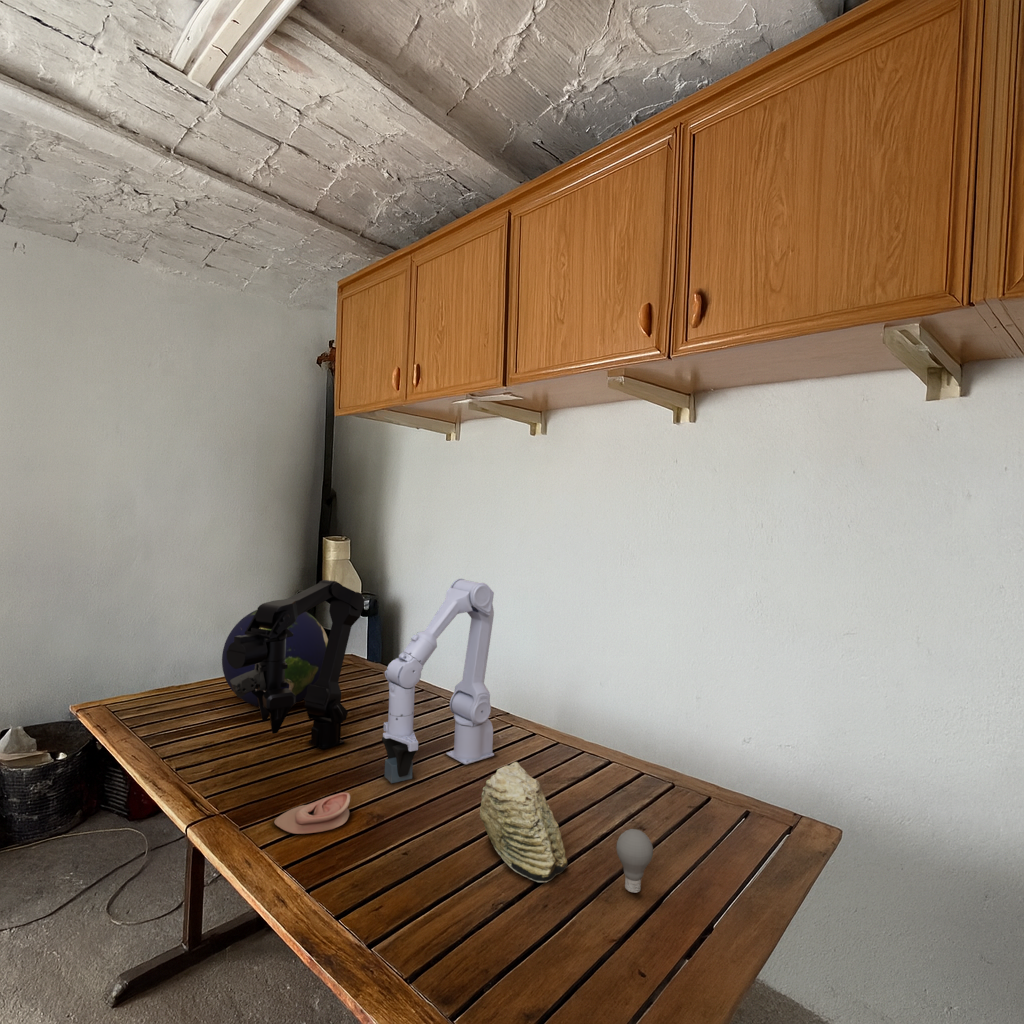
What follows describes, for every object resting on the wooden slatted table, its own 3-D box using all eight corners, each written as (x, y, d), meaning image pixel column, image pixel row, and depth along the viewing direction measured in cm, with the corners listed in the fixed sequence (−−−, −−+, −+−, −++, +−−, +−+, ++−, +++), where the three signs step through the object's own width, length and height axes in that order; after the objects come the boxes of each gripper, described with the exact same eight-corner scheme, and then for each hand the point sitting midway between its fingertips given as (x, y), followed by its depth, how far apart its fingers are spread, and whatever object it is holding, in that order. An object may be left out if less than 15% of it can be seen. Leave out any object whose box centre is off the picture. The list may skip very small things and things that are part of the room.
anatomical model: (265, 808, 120) (298, 782, 131) (265, 829, 120) (297, 801, 131) (330, 818, 117) (357, 791, 128) (329, 840, 117) (357, 810, 128)
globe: (289, 685, 209) (292, 594, 208) (348, 705, 191) (352, 606, 191) (199, 706, 185) (203, 604, 184) (258, 732, 167) (262, 619, 167)
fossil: (501, 827, 124) (504, 751, 124) (575, 868, 111) (578, 784, 111) (467, 843, 118) (470, 763, 118) (541, 889, 105) (545, 799, 105)
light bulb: (610, 879, 108) (613, 822, 108) (644, 879, 109) (647, 822, 109) (619, 902, 102) (622, 840, 102) (655, 901, 103) (658, 840, 103)
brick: (384, 776, 145) (384, 759, 145) (404, 772, 148) (405, 755, 147) (391, 783, 141) (392, 765, 141) (412, 778, 144) (413, 761, 144)
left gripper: (226, 653, 148) (223, 719, 148) (243, 673, 132) (240, 747, 133) (275, 648, 154) (273, 712, 154) (297, 667, 139) (294, 737, 139)
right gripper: (372, 705, 148) (369, 763, 148) (398, 725, 136) (395, 788, 136) (400, 701, 152) (397, 757, 152) (427, 720, 140) (425, 781, 140)
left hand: (269, 726), depth 145 cm, fingers open, 9 cm apart
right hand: (398, 771), depth 144 cm, fingers closed on brick, 4 cm apart
